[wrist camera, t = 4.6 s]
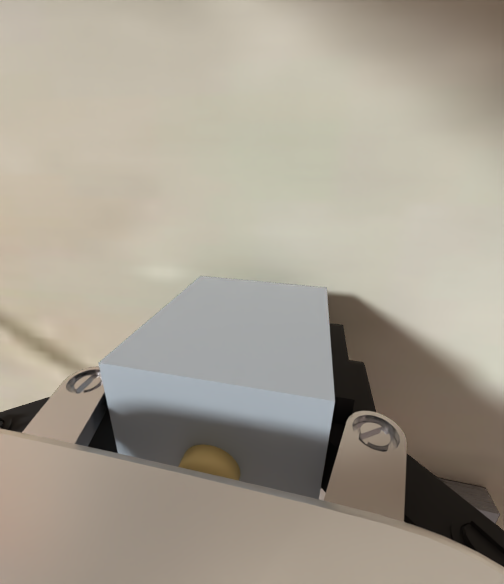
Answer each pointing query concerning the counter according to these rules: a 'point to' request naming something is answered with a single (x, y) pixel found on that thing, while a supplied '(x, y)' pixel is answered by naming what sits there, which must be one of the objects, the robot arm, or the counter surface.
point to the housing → (229, 384)
